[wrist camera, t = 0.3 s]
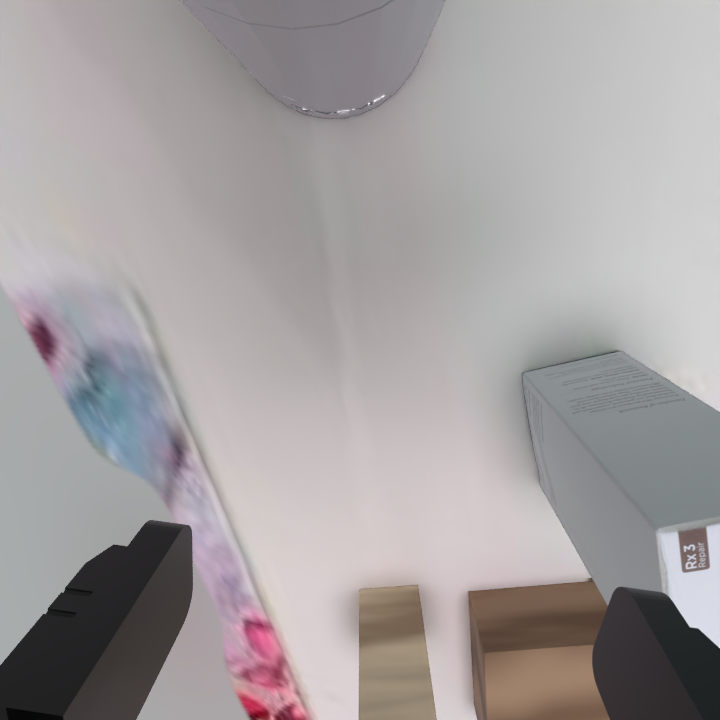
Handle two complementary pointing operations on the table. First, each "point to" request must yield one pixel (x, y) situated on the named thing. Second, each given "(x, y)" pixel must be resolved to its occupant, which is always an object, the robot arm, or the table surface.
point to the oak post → (393, 656)
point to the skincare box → (632, 478)
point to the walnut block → (536, 652)
